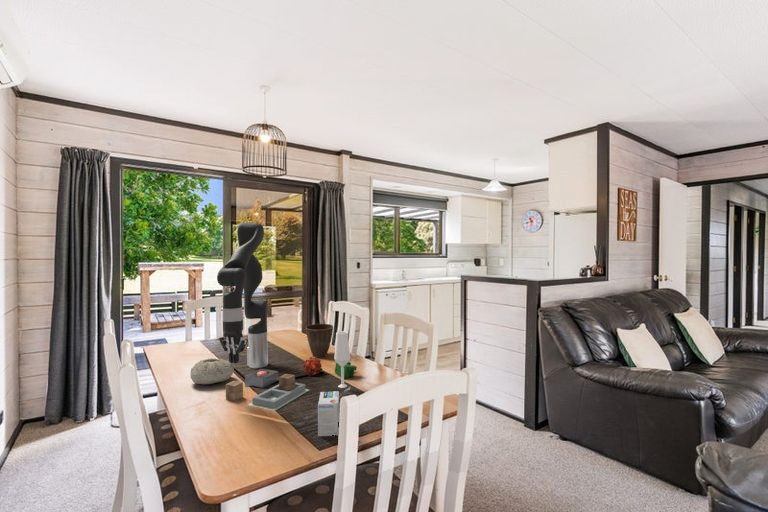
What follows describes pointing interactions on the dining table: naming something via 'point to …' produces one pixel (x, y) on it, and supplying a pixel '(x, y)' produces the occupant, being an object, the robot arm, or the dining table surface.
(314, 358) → the dragon fruit
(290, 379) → the block
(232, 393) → the walnut billet
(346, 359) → the champagne flute
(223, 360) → the decorative shell
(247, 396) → the dining table surface
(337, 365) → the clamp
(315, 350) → the plant pot
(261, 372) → the button
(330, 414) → the light bulb box
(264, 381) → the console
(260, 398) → the gray compartment tray
